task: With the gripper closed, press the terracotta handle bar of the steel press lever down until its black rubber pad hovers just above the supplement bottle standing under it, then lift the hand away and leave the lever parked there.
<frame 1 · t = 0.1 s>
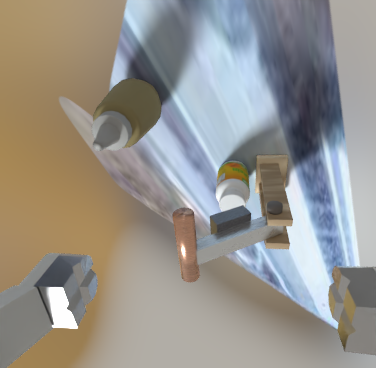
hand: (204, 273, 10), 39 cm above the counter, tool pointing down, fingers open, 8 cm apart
squeeze bottle: (142, 98, 47), on the counter
press stand: (264, 172, 51), on the counter
supplement bottle: (233, 172, 52), on the counter
lever: (228, 227, 38), point 16 cm above the counter, hinge at 30.0°
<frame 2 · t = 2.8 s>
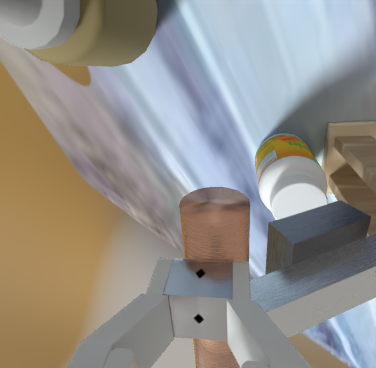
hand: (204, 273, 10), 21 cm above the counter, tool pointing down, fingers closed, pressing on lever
squeeze bottle: (124, 14, 26), on the counter
press stand: (338, 156, 29), on the counter
supplement bottle: (281, 156, 30), on the counter
lever: (319, 250, 15), point 16 cm above the counter, hinge at 30.0°, touching gripper
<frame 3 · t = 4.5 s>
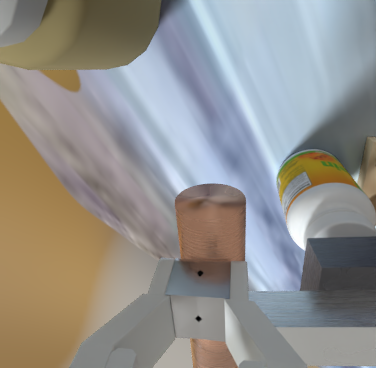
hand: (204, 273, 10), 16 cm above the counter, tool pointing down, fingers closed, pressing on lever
squeeze bottle: (119, 4, 21), on the counter
supplement bottle: (307, 176, 25), on the counter
lever: (359, 285, 12), point 14 cm above the counter, hinge at 5.3°, touching gripper
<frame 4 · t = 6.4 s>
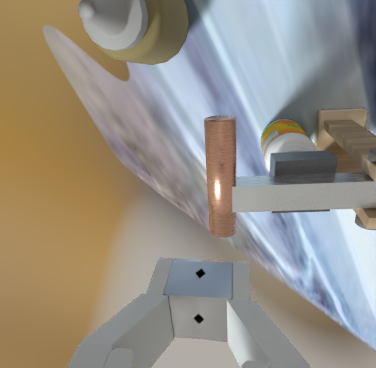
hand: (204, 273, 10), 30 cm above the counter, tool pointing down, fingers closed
squeeze bottle: (159, 24, 33), on the counter
press stand: (328, 137, 36), on the counter
supplement bottle: (281, 138, 37), on the counter
lever: (294, 171, 24), point 14 cm above the counter, hinge at 5.2°
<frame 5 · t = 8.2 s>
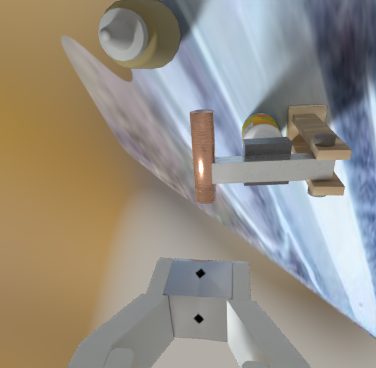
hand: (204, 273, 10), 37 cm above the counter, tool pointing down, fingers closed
squeeze bottle: (157, 35, 41), on the counter
press stand: (297, 129, 44), on the counter
supplement bottle: (259, 129, 45), on the counter
lever: (260, 152, 32), point 14 cm above the counter, hinge at 5.2°
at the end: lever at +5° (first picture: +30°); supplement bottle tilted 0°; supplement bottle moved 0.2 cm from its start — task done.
